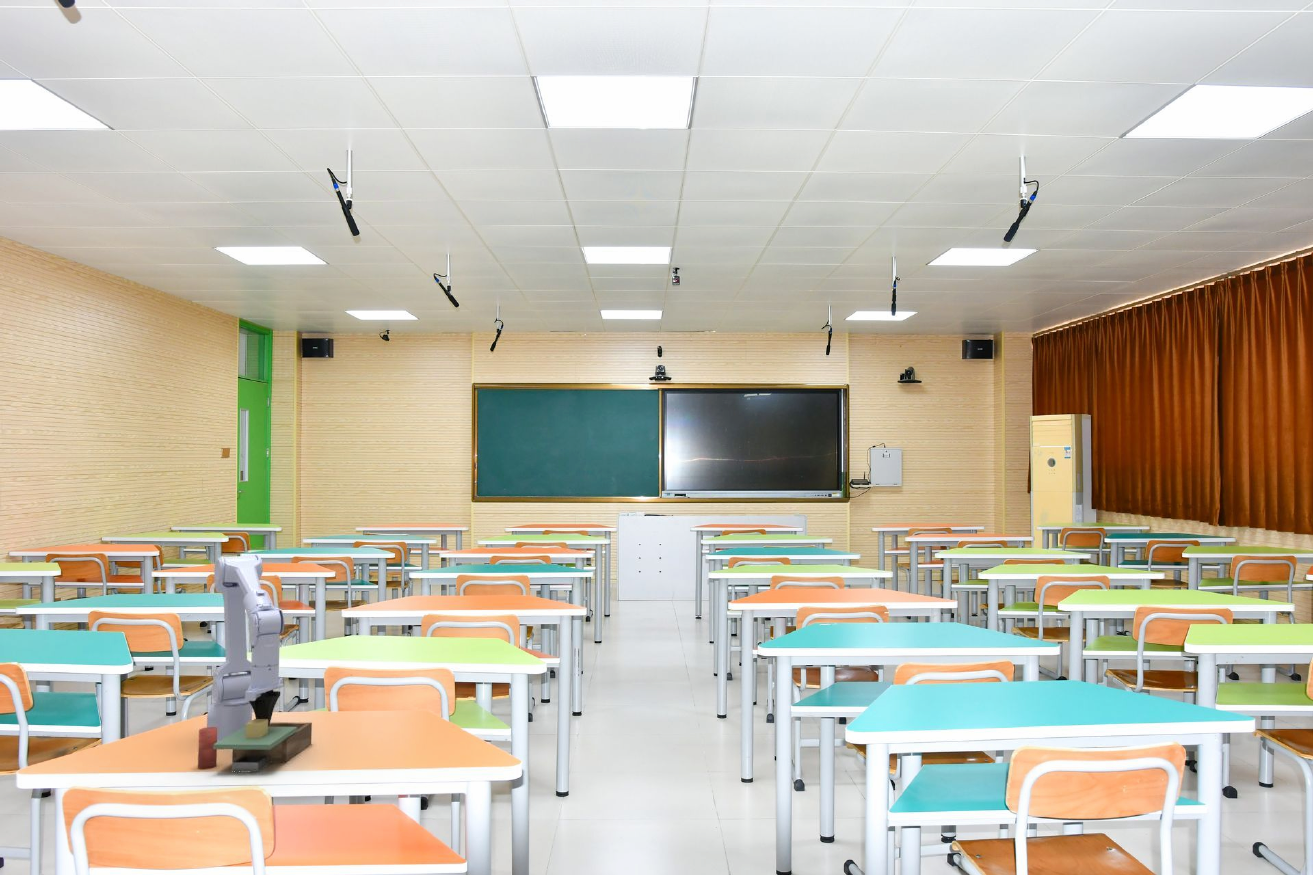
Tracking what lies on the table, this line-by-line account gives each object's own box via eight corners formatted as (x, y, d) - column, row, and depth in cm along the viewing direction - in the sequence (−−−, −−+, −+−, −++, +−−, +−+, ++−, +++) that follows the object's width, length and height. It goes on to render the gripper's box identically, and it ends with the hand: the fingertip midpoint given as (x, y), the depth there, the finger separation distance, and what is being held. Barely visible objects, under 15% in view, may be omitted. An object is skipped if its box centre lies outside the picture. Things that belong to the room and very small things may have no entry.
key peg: (194, 768, 190) (195, 731, 190) (203, 763, 193) (204, 726, 194) (211, 769, 190) (212, 731, 190) (219, 763, 193) (220, 726, 194)
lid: (213, 749, 186) (213, 729, 187) (244, 730, 200) (244, 713, 201) (269, 749, 186) (270, 730, 187) (297, 731, 200) (297, 713, 201)
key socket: (231, 771, 188) (232, 762, 188) (244, 763, 193) (244, 754, 194) (257, 772, 188) (258, 762, 188) (269, 763, 193) (269, 754, 194)
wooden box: (232, 762, 195) (232, 739, 195) (260, 743, 209) (261, 722, 209) (286, 762, 195) (286, 739, 195) (311, 743, 209) (311, 722, 209)
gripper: (268, 671, 190) (267, 735, 189) (296, 658, 205) (294, 717, 204) (236, 671, 190) (234, 735, 189) (266, 658, 205) (264, 717, 204)
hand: (263, 726), depth 197 cm, fingers closed
